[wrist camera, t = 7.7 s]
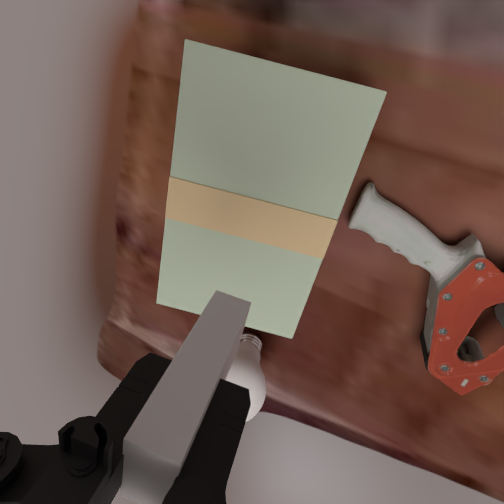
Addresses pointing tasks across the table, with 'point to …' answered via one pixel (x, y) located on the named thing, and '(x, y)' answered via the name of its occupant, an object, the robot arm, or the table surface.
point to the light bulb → (249, 371)
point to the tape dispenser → (442, 291)
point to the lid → (257, 181)
